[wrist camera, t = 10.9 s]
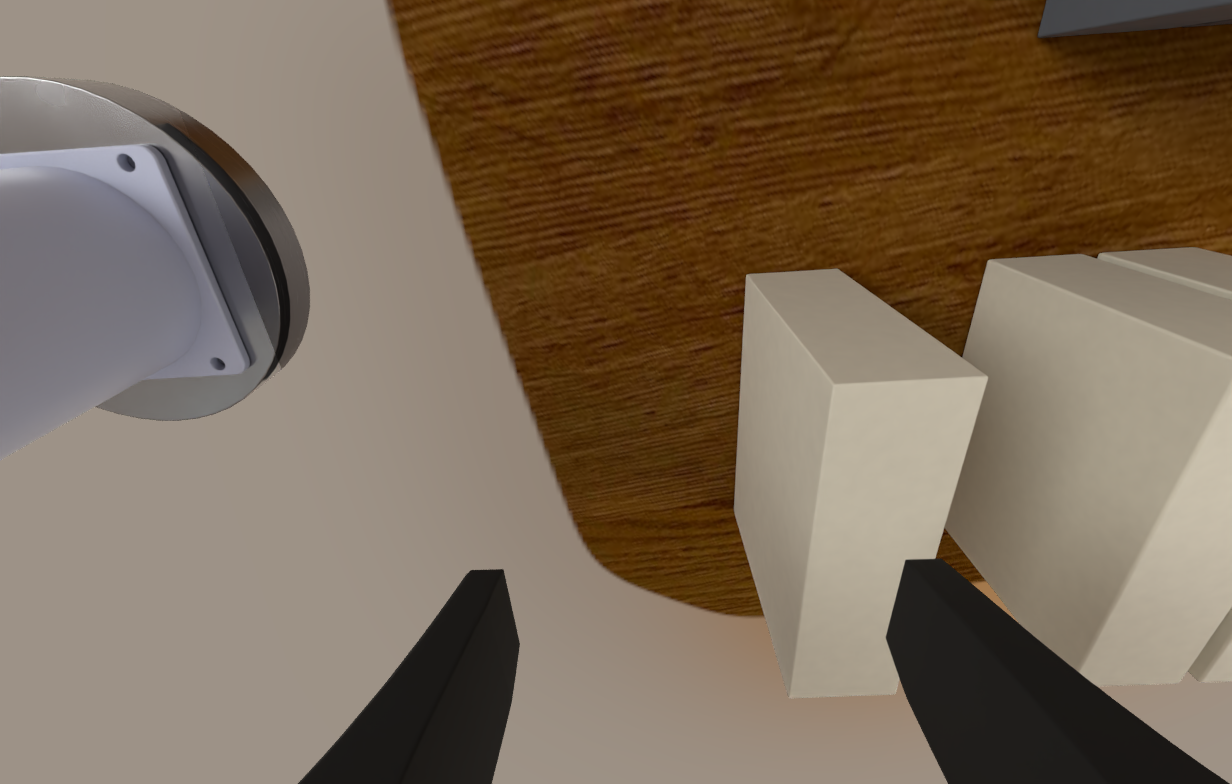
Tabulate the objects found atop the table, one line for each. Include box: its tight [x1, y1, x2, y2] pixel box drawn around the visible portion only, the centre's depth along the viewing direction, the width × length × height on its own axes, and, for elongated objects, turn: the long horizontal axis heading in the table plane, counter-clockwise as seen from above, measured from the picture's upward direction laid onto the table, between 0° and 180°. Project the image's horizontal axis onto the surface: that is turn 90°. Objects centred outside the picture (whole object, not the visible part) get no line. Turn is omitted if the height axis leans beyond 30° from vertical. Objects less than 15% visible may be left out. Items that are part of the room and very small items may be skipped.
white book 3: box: [1097, 247, 1232, 683], centre depth 16 cm, size 3×10×8 cm, turn 4°
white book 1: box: [734, 269, 988, 698], centre depth 16 cm, size 3×10×8 cm, turn 4°
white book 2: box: [944, 254, 1232, 686], centre depth 16 cm, size 3×10×8 cm, turn 4°
